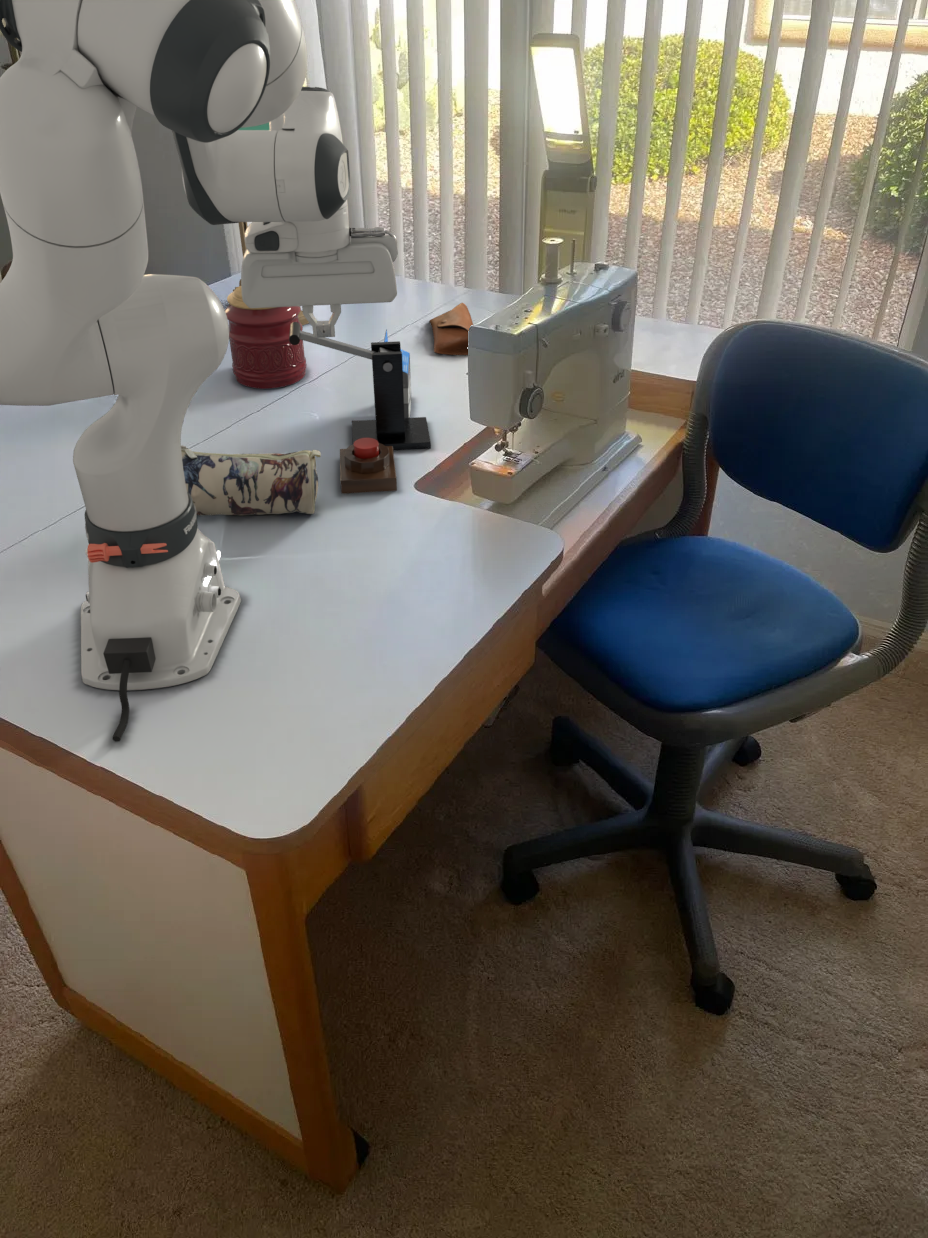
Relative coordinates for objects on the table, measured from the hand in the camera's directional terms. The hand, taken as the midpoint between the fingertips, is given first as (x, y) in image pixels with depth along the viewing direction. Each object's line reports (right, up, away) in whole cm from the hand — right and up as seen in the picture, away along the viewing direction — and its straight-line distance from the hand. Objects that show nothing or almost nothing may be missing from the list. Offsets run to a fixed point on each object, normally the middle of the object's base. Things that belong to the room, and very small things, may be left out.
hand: (324, 335), depth 131 cm
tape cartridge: (+8, -4, +31) cm, 32 cm away
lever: (+1, +1, +13) cm, 14 cm away
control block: (+5, -17, +13) cm, 22 cm away
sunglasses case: (+17, +16, +57) cm, 61 cm away
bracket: (+7, -10, +23) cm, 26 cm away
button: (+5, -14, +11) cm, 18 cm away
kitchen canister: (-16, +5, +42) cm, 45 cm away
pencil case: (-11, -23, +5) cm, 26 cm away
